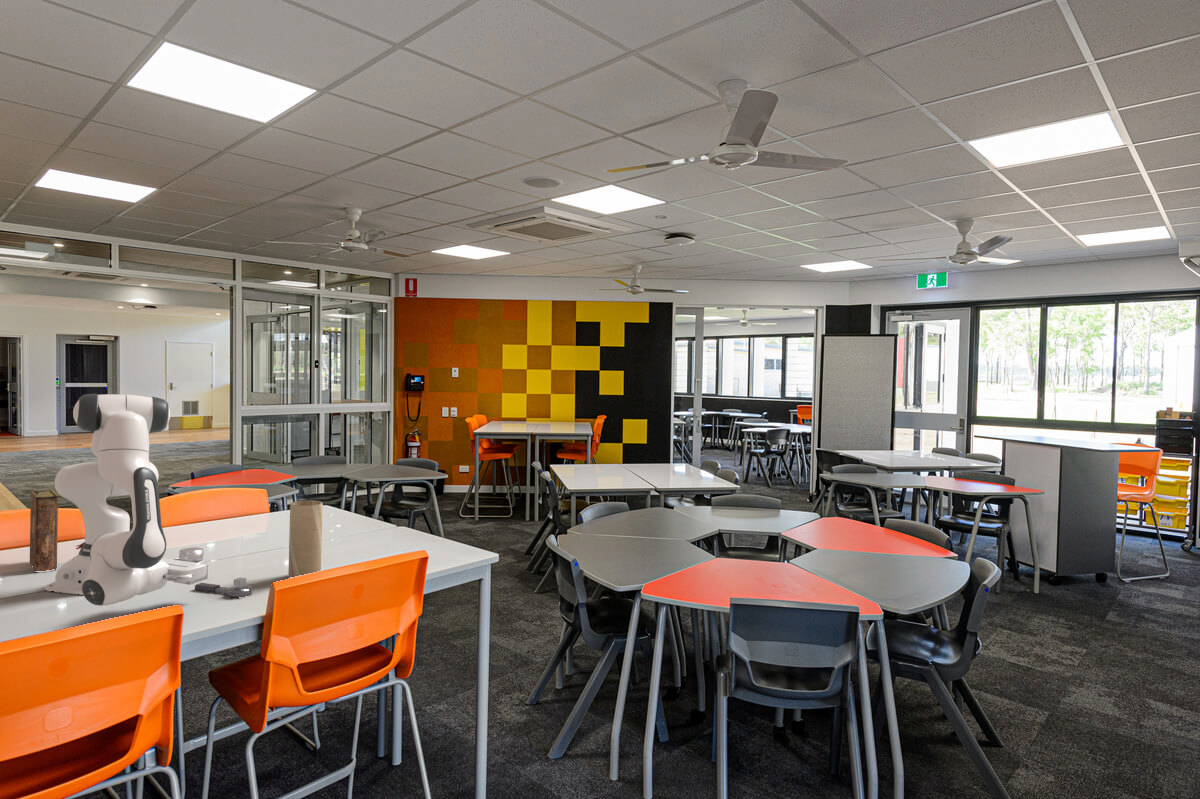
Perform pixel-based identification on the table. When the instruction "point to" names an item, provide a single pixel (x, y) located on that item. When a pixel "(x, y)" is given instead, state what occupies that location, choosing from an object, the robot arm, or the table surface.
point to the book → (43, 530)
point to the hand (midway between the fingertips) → (193, 561)
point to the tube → (305, 537)
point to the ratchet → (233, 592)
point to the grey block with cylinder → (192, 560)
